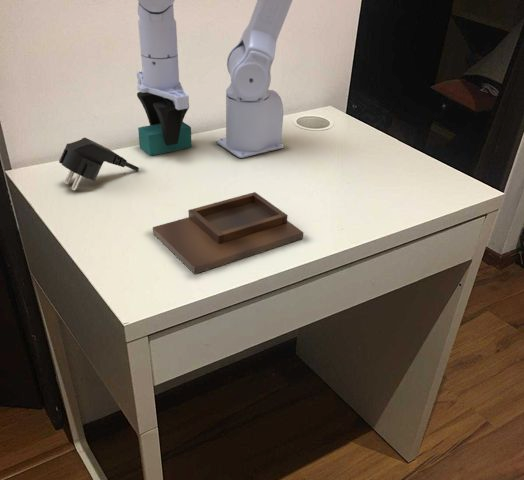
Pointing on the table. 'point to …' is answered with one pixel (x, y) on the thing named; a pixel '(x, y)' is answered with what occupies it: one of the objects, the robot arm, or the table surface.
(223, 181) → the table surface
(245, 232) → the brown wooden tray
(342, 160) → the table surface
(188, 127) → the teal rectangular block
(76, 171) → the power plug
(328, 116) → the table surface
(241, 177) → the table surface
